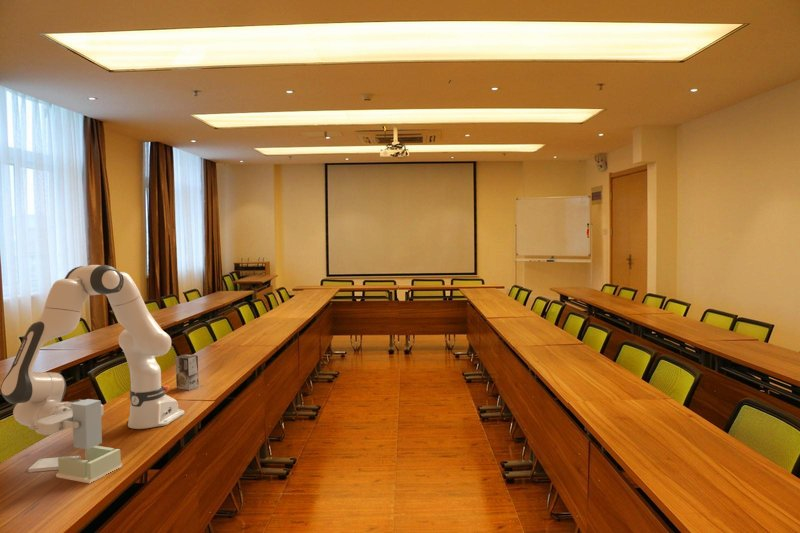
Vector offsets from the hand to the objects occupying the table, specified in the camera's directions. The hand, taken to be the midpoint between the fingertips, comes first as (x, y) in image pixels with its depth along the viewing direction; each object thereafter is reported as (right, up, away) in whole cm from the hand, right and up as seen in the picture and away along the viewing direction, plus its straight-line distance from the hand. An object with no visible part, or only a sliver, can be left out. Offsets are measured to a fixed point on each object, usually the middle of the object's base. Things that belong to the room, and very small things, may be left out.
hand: (89, 420), depth 162 cm
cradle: (-1, -17, +1) cm, 17 cm away
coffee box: (-7, -12, +93) cm, 94 cm away
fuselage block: (-1, -8, +1) cm, 8 cm away
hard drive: (-15, -17, +7) cm, 24 cm away
